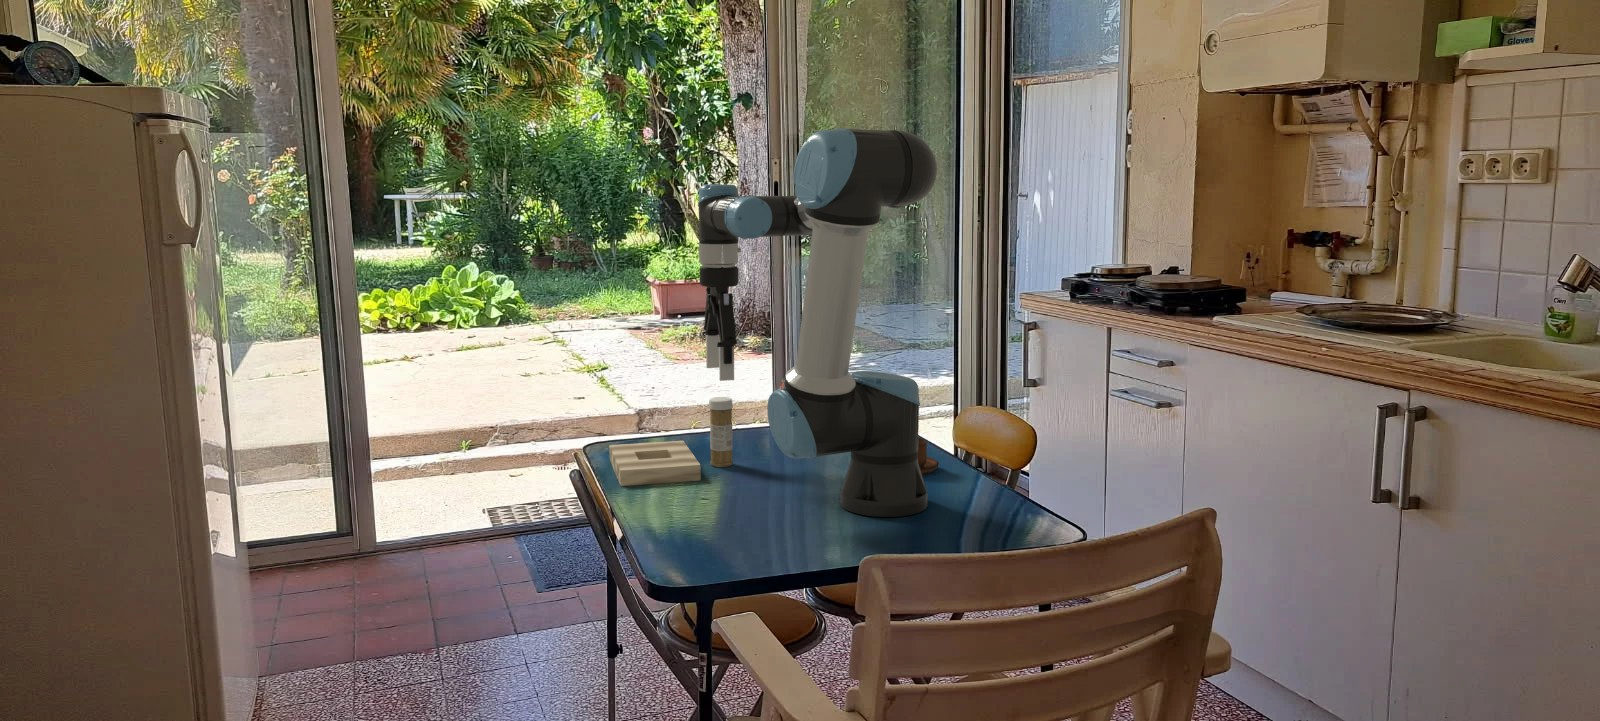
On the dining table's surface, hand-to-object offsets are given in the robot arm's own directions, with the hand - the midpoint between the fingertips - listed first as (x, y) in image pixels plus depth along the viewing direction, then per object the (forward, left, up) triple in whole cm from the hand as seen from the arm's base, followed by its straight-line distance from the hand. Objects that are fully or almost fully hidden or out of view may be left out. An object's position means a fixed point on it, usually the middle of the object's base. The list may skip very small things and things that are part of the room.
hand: (719, 373), depth 217 cm
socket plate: (0, +13, -18) cm, 23 cm away
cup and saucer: (-14, -34, -19) cm, 41 cm away
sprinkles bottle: (0, 0, -19) cm, 19 cm away
